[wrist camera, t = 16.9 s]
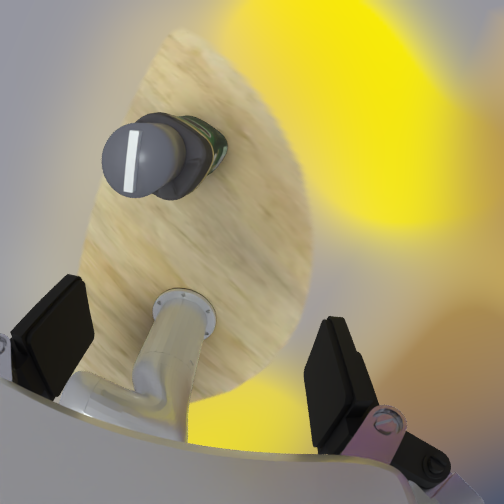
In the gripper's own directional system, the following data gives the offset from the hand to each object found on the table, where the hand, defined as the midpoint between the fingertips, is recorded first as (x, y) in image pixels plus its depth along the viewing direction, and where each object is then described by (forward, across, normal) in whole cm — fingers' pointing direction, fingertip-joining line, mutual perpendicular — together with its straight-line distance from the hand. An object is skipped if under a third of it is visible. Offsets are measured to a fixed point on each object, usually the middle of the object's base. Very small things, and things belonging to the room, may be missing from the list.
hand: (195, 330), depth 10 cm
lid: (+18, +8, -4) cm, 20 cm away
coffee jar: (+36, +8, -4) cm, 38 cm away
